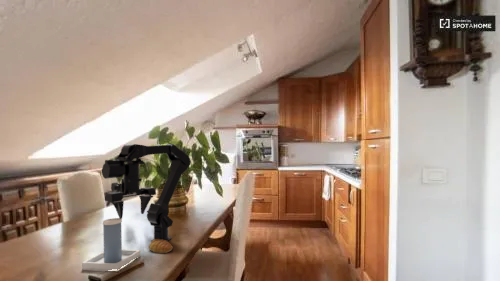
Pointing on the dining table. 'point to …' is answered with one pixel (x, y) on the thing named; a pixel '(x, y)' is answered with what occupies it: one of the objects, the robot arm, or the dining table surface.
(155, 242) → the pastry
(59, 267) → the dining table surface
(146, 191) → the robot arm
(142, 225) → the dining table surface
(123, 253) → the tray
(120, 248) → the blue cylindrical canister
